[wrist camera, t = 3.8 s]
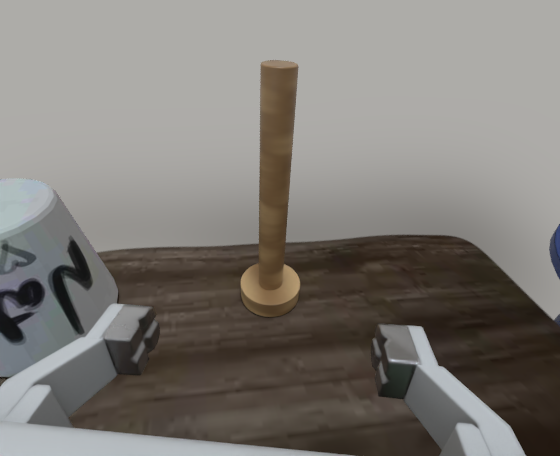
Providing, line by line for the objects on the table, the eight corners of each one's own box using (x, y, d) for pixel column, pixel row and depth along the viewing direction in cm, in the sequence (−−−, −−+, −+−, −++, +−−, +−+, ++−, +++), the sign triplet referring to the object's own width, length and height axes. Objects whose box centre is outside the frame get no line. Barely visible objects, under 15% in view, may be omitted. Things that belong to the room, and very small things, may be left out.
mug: (105, 211, 19) (141, 318, 25) (38, 138, 27) (77, 231, 33) (-163, 304, 13) (-30, 415, 19) (-143, 173, 21) (-55, 279, 27)
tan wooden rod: (287, 268, 30) (305, 55, 19) (307, 309, 26) (343, 72, 16) (235, 279, 29) (223, 55, 18) (249, 323, 25) (244, 74, 14)
